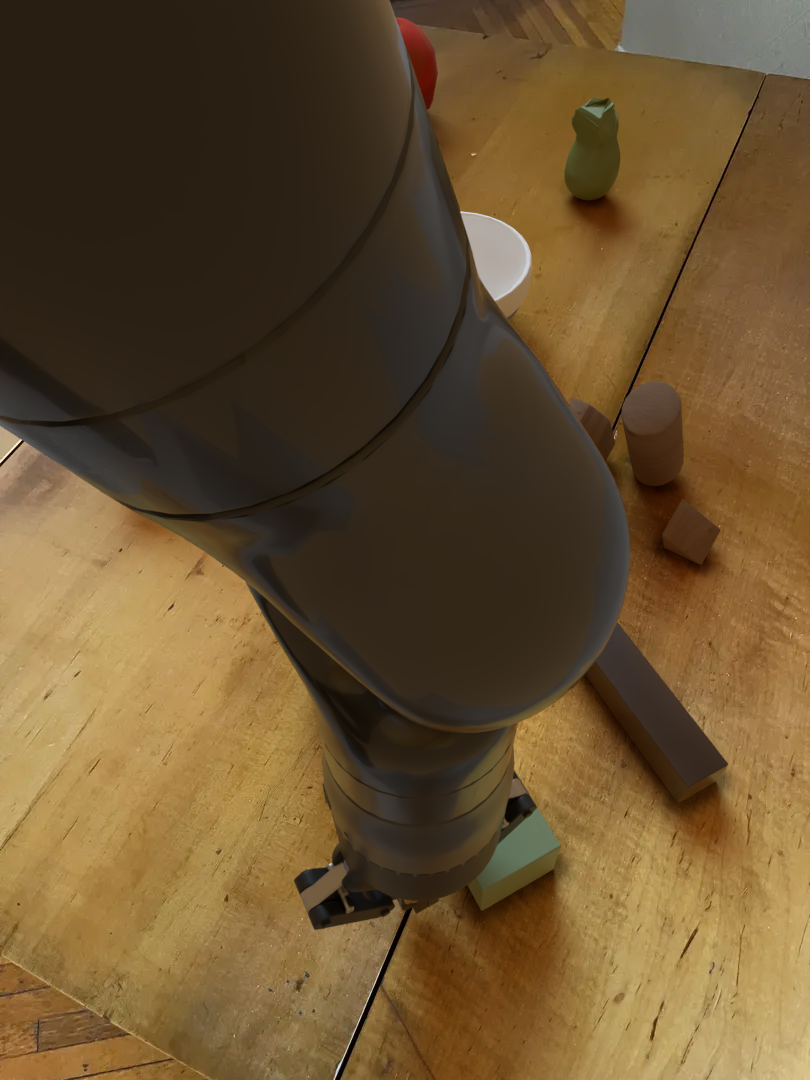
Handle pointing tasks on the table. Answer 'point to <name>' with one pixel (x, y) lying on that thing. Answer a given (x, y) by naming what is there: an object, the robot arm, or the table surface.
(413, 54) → the apple
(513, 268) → the bowl
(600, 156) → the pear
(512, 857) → the green block
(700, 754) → the straightedge
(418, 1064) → the table surface
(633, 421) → the wooden block set
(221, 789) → the table surface
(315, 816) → the table surface
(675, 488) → the table surface
